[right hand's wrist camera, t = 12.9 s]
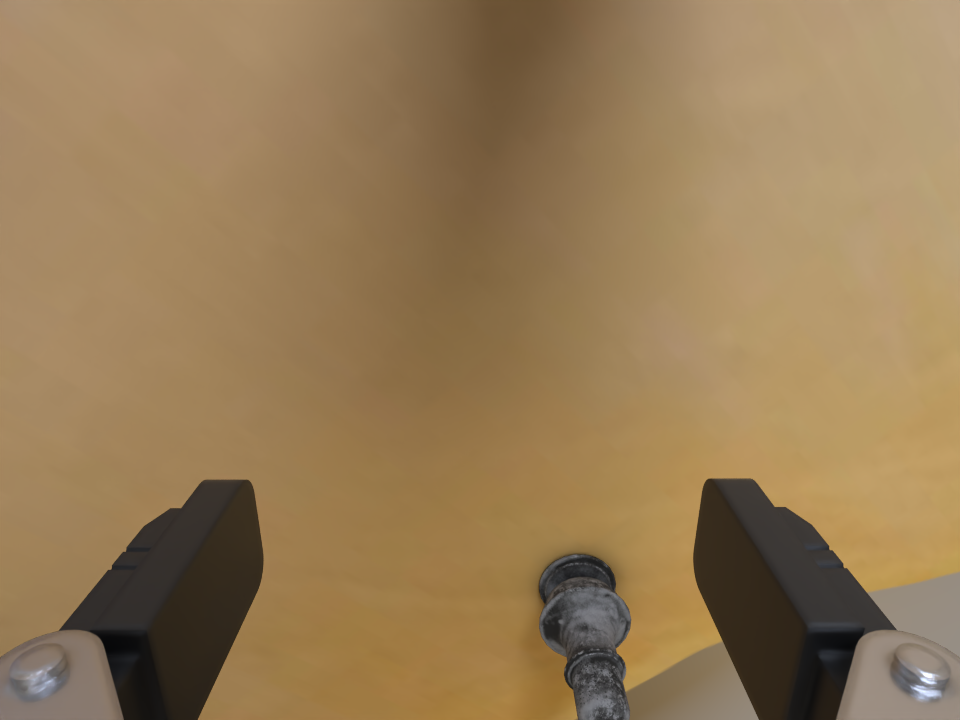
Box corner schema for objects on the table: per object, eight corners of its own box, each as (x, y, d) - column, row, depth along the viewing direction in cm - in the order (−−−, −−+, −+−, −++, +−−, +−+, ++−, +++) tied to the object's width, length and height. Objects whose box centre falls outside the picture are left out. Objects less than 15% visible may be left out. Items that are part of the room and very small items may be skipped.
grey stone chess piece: (635, 593, 45) (688, 753, 33) (565, 632, 46) (593, 800, 35) (589, 536, 43) (628, 685, 32) (517, 578, 44) (530, 736, 33)
